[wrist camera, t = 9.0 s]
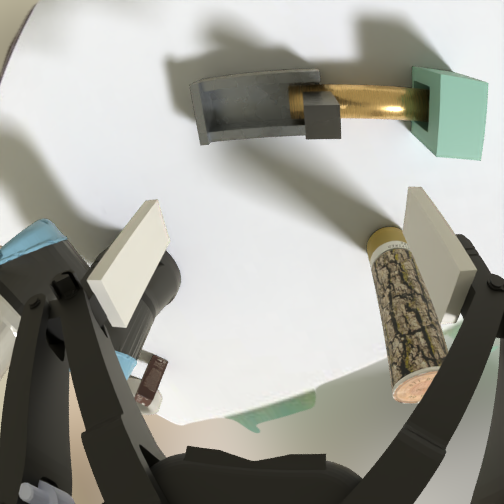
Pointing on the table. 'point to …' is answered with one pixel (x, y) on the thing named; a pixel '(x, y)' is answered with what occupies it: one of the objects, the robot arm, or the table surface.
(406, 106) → the brass sliding bolt
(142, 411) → the donut shape
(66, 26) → the table surface
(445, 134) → the socket block
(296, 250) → the table surface
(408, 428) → the robot arm
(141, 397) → the box
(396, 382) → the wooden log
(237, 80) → the grey bracket
